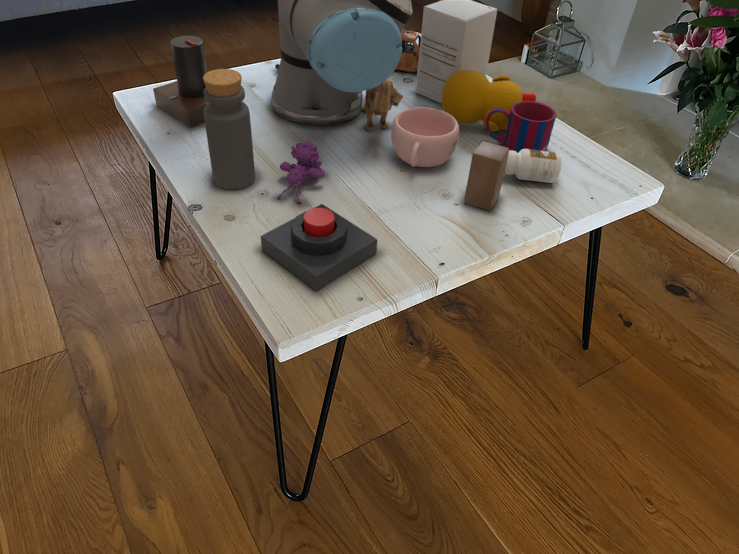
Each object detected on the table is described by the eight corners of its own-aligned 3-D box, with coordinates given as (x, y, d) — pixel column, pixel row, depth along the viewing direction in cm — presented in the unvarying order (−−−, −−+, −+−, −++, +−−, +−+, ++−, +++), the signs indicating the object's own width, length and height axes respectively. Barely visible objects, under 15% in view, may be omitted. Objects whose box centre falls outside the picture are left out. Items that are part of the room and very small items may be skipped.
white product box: (445, 78, 113) (456, -7, 103) (483, 94, 109) (500, 8, 99) (413, 92, 108) (422, 4, 98) (452, 110, 104) (466, 20, 94)
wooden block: (462, 203, 84) (472, 152, 78) (472, 189, 86) (481, 139, 81) (490, 212, 82) (501, 161, 77) (499, 197, 85) (510, 147, 80)
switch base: (261, 249, 74) (259, 223, 72) (321, 217, 80) (321, 191, 77) (316, 291, 69) (316, 264, 67) (376, 253, 75) (378, 227, 72)
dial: (172, 89, 98) (163, 38, 92) (198, 81, 101) (190, 31, 95) (189, 100, 96) (181, 48, 90) (215, 91, 98) (208, 40, 93)
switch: (297, 227, 72) (297, 215, 71) (320, 215, 74) (320, 203, 73) (318, 241, 70) (318, 229, 69) (340, 228, 72) (340, 217, 71)
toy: (533, 93, 102) (446, 75, 103) (545, 74, 94) (450, 55, 94) (521, 145, 102) (434, 127, 103) (533, 131, 93) (437, 111, 94)
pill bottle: (564, 151, 85) (510, 144, 85) (559, 182, 86) (505, 176, 85) (553, 154, 90) (502, 148, 89) (549, 184, 90) (498, 178, 90)
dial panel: (156, 105, 100) (152, 87, 98) (202, 90, 105) (199, 72, 103) (190, 128, 95) (187, 109, 93) (237, 110, 100) (235, 92, 98)
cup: (541, 166, 92) (553, 125, 87) (477, 151, 94) (485, 111, 90) (548, 145, 97) (559, 106, 92) (486, 132, 99) (494, 93, 94)
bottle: (220, 194, 82) (206, 89, 72) (208, 172, 86) (192, 70, 76) (261, 184, 85) (252, 82, 75) (247, 163, 88) (237, 63, 78)
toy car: (372, 58, 119) (374, 22, 114) (433, 64, 118) (437, 28, 114) (368, 71, 114) (370, 34, 109) (432, 77, 113) (436, 40, 109)
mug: (399, 135, 97) (402, 100, 93) (460, 147, 95) (466, 113, 91) (377, 173, 88) (379, 137, 84) (444, 188, 86) (449, 151, 82)
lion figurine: (401, 139, 96) (406, 85, 90) (368, 141, 95) (371, 86, 89) (382, 97, 106) (385, 46, 100) (352, 98, 106) (353, 47, 99)
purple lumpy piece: (334, 142, 84) (313, 162, 78) (331, 183, 88) (311, 207, 81) (289, 133, 85) (265, 152, 79) (288, 174, 89) (265, 196, 82)
